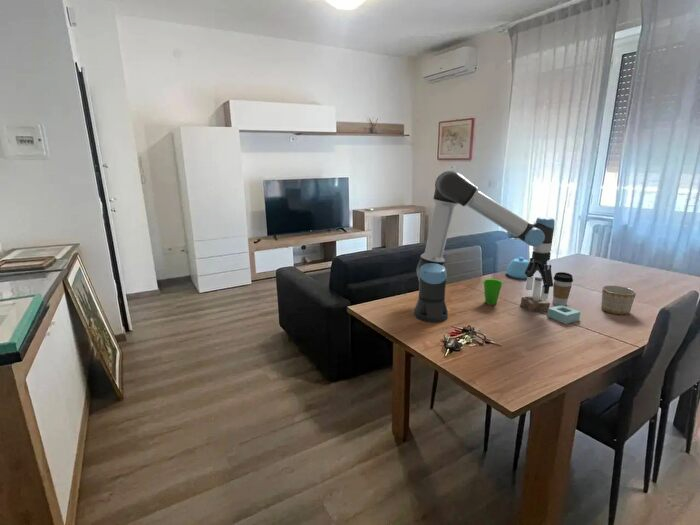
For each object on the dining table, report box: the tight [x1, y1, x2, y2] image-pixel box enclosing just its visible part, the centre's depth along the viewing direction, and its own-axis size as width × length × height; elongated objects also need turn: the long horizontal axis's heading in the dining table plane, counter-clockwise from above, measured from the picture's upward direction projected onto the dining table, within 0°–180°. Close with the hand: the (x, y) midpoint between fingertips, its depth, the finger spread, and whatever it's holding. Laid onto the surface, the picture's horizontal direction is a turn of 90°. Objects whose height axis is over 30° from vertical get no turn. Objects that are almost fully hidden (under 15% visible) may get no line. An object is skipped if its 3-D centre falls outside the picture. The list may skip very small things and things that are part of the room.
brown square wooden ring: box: [520, 295, 551, 312], centre depth 179 cm, size 9×9×4 cm
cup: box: [482, 278, 504, 306], centre depth 185 cm, size 9×9×11 cm
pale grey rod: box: [532, 276, 543, 302], centre depth 177 cm, size 3×3×15 cm
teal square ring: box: [546, 305, 581, 325], centre depth 167 cm, size 9×9×4 cm
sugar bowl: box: [506, 256, 530, 280], centre depth 227 cm, size 15×15×12 cm
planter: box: [600, 284, 637, 316], centre depth 173 cm, size 13×13×10 cm
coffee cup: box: [552, 271, 574, 306], centre depth 182 cm, size 8×8×15 cm
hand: (536, 294), depth 178 cm, fingers open, 13 cm apart
